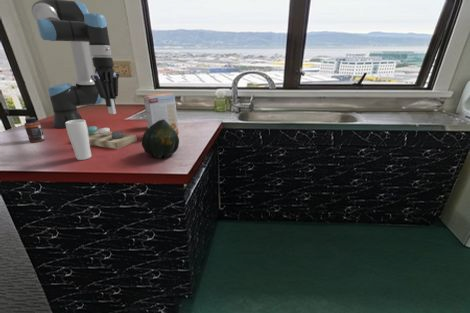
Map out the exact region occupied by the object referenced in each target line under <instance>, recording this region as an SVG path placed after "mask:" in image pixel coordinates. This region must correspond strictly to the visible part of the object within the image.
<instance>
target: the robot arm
mask: <svg viewBox="0 0 470 313" xmlns="http://www.w3.org/2000/svg"><path fill="white" fill-rule="evenodd" d="M31 13H32V16H33V18H34V19H35V20H36V24H37V28H38V32H39V36H40V38H41V39H42V40H43V41H51V42H69V44H70V48H71V54H72V57H73V61H74V67H75V71H76V72H75V73H76V77H77V80H75V82H74V83H75V85H72V83H61V84H55V85H51V86H49V87H48V88H47V92H48V97H49V99H50V100H49V101H50V102H51V107H52V110H53V120H52V121H53V122H52V124H53V127H54V128H55V129H66V125H65V122H67V121H70V120H79V119H82V120H84V118H82V116H81V114H80V112H79V111H78V107H83V106H95V105H100V104H101V103H102V102H103V100H105V104H106V105H105V106H106V107H107V111H108V114H109V115H115V114H117V110H116V99H117V97H118V96H119V77H120V74H119V73H116V72H115V69H114V61H113V58H112V54H113V53H112V50H111V49H112V48H111V43H110V38H109V37H110V35H109V32H108V31H109V30H108V24H107V20H106V16H105V15H103V14H101V13H90V12H89V10H88V7H87V5H86V4H84V3H83V2H81V1H76V0H38V1H36V2H34V3H33V5H32V6H31ZM91 56H92V57H91ZM93 67H94V69H93Z"/></svg>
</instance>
